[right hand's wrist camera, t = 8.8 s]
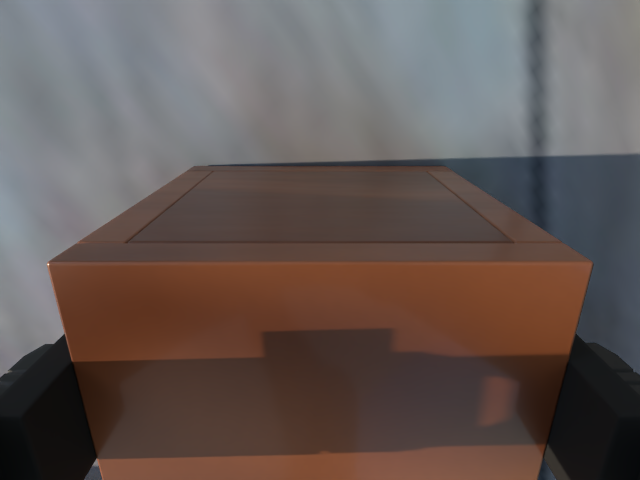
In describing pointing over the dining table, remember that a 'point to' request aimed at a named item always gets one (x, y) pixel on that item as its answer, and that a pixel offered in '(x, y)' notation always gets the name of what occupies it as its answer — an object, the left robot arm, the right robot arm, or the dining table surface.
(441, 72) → the dining table surface
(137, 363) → the cabinet
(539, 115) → the dining table surface
